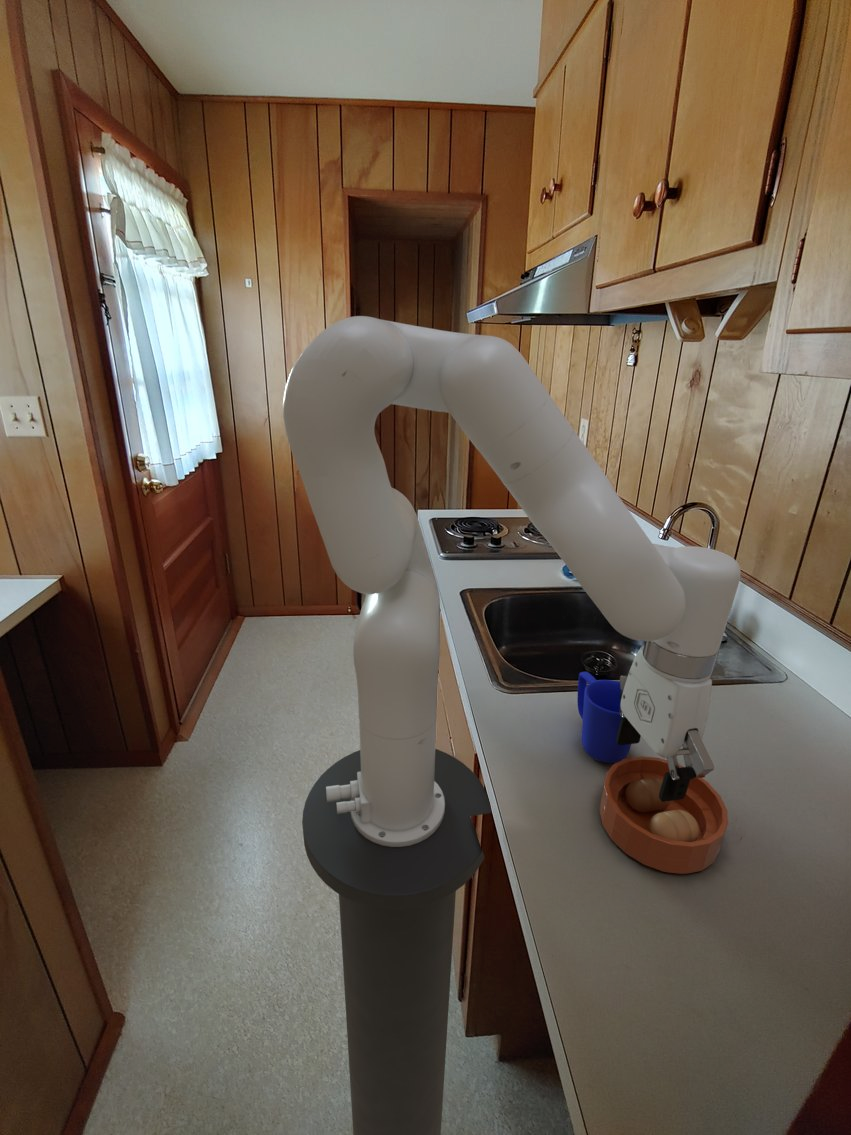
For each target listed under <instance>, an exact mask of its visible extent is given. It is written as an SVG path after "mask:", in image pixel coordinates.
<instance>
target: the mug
mask: <svg viewBox="0 0 851 1135" xmlns="http://www.w3.org/2000/svg"><path fill="white" fill-rule="evenodd" d="M577 682H578V683H577V697H576V698H577V699H576V700H577V701H576V702H577V710H578V714H579V717H580V718H581V720H582V724H581V738H580V739H581V745H582V747H583V750H584V751H585V752H586V754H587V755H588V756H590V757H591V758H593V759H594V760H596V761H598V762H602V763H606V764H615V763H617V762H619V761H621V760H623V759H626V758H627V756H628V754H629V752H630V750H631V746H632V744H627V745H619V744H618V743H617V742H616V739H617V735H618V730H619V726H620V722H621V719H623V718H622V717H621V715H620V709H621V707H620V705H621V700H620V697H619V695H620V692H622V690H621V689H620V681H619V680H612V679H598V680H597V679H596V678H595V677H594V676H593V675H592V674H591V673H590V672H588V671H581V672H579V674H578V681H577Z"/></svg>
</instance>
